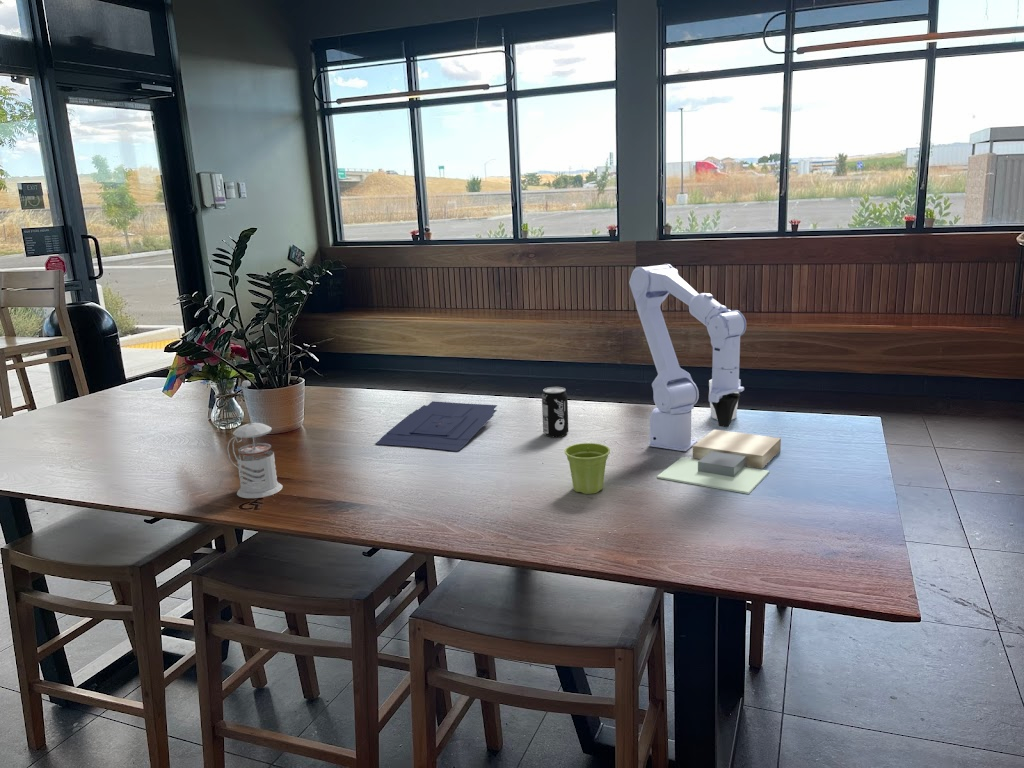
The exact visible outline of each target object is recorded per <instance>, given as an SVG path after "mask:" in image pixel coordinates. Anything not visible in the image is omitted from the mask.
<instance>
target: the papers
mask: <svg viewBox="0 0 1024 768" xmlns="http://www.w3.org/2000/svg"><path fill="white" fill-rule="evenodd" d="M496 407H498V404H482V403H478V404H477V403H463V402H449V401H448V402H446V401H431V402H430V403H429V404H427V405H422V406H421V407H419V408H417V409H415V410H414V411H412V412H411V413H409V414H408V415H407V416H406V417H405V418H403V419H402V420H400V421H399V422H398V423H397V424H396V425H395V426H393V427H392V428H391V429H389V431H387V432H385V434H384V435H383V436H382V437H381V438H380V439H379V440H378V441H376V443H375V445H384V446H385V445H386V446H399V447H401V446H402V447H417V448H426V449H435V450H446V451H452V452H459V451H460V450H461V449H462V448H463V447H465V446H466V445H467V444H468V443H469V441H470V440H471V439H472V438H474V436H475V435H476V434H477V433H478V432H479V431H480V430H481V429H482V428H483V427H484V426H485V424H487V423H488V421H490V420H491V419H492V418H493V417H494V416H495V413H496V412H497V411H498V409H496Z"/></svg>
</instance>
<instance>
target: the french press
mask: <svg viewBox="0 0 1024 768" xmlns="http://www.w3.org/2000/svg"><path fill="white" fill-rule="evenodd" d="M241 387H243V388H244V387H245V388H246V389H245V390H246V395H247V396H246V397H247V404H248V413H249V420H250V422H249V423H246V424H243V425H241V426H239V427H237V428H236V429H234V430H233V432H232V435H233V437H232V438H230V439H229V441H228V442H227V448H226V449H227V455H228V459H229V460H230V463H231V464H232V465H233V466H234V467H236V468H237V469H238V476H239V484H240V487H239V489H238V490H237V492H236V495H237V496H238V497H239V498H244V499H259V498H265V497H270V496H273V495H274V494H275V495H276V494H277V493H278V492H280V491H281V490H282V489H283V484H281V483H280V482H278V476H277V469H276V468H277V467H276V463H275V462H276V459H275V451H273V450H271V449H272V445H271V444H269V443H263V442H262V443H261V442H260V443H259V442H258V443H255V438H258V437H263V436H266V435H267V434H270V433H271V431H272V427H271V426H269V425H267V424H264V423H260V422H252V421H253V420H252V414H251V407H250V398H249V391H248V387H251V381H250V380H248V379H247V380H243V381H242V382H241ZM238 438H240V440H239V441H238ZM243 438H245V439H248V438H252V444H246V445H243V446H240V447H239V448H238V449H237V453H238V454H239V455H236V453H235V445H234V444H235V442H236V443H241V442H242V441H243ZM232 441H233V442H232ZM231 442H232V453H233V456H234V457H235V460H236V461H237V465H236V464H235V462H233V460H232V459H231V455H230V451H229V448H230V447H229V446H230V443H231ZM263 454H264V455H267V456H264V455H263ZM241 455H242V458H241ZM259 455H263V456H259ZM256 456H259V457H257V458H255V457H256ZM242 459H243V460H242ZM243 467H244V468H243ZM244 478H245V479H244Z"/></svg>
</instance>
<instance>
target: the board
mask: <svg viewBox="0 0 1024 768" xmlns="http://www.w3.org/2000/svg"><path fill="white" fill-rule="evenodd" d="M781 445H782V438H781V437H773V436H768V435H759V434H752V433H745V432H744V433H743V432H736V431H728V430H721V429H714V428H713V430H711V431H710V432H709V433H707V434H706V435H705V436H703V437H702V438H701V439H699V440H697V443H696V444H694V445H693V446H692V459H697V460H701V459H702V458H703V457H704V456H705V455H707V454H708V453H709V452H710V451H714V452H721V453H728V454H735V455H741V456H746V466H745V467H749V468H755V469H762V470H764V468H765V467H766V466H767V465H768V464H767V463H768V462H769V461H770V460H771V459H772V458H773V457H774V456H776V455H778V454H779V452H780V451H781V447H782V446H781ZM774 458H775V457H774ZM774 458H773V459H774ZM770 462H771V461H770ZM770 462H769V463H770ZM765 465H766V466H765Z"/></svg>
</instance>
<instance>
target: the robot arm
mask: <svg viewBox="0 0 1024 768" xmlns="http://www.w3.org/2000/svg"><path fill="white" fill-rule="evenodd" d="M628 285H629V288H630V291H631V293H632V297H633V300H634V302H635V305H636V306H635V307H636V310H637V314H638V316H639V317H638V318H639V319H640V323H641V325H642V330H643V332H644V335H645V339H646V341H647V344H648V347H649V351H650V354H651V356H652V360H653V363H654V366H655V369H656V372H657V374H656V375H657V376H655V378H654V380H653V381H652V383H651V387H652V391H653V402H654V404H655V406H656V407H655V408H653V410H652V411H651V413H650V418H649V443H648V446H649V447H654V448H659V449H665V450H666V449H667V450H673V451H678V452H679V451H680V452H686V451H688V450H689V449H691V448H693V445H694V444H696V443H697V442H698V440H697V439H692V410H694V409H695V406H694V405H696V404H697V402H698V400H699V398H700V397H699V396H700V394H699V393H700V392H699V388H698V386H697V384H696V383H695V382H694V381H693V378H692V376H691V373H689V372H688V371H686V370H685V369H683V368H681V366H680V363H679V361H678V360H679V359H678V358H677V354H676V351H675V349H674V346H673V343H672V339H671V337H670V334H669V330H668V328H667V325H666V322H665V318H664V315H663V312H662V310H661V305H662V303H663V302H664V301H665V300H666V299H667V297H668V296H669V295H672V296H673V297H675V298H677V299H678V300H679V301H681V302H683V303H684V304H686V305H687V306H688V311H689V313H690V315H691V316H693V317H694V318H695V319H696V320H698V321H699V322H701V323H702V324H703V325H704V326H705V327H706V329H707V330H706V331H707V333H708V336H709V337H710V344H711V347H712V362H711V363H712V366H711V367H712V369H711V371H712V372H711V379H712V385H711V391H710V393H709V392H708V402H709V403H710V402H712V404H713V406H714V409H715V412H716V416H717V419H716V420H717V424H718V426H719V427H723V428H729V427H730V426H731V422H732V420H733V419H732V416H733V412H734V409H735V406H736V404H737V402H738V403H739V401H740V398H741V394H740V393H741V392H743V391H745V387H744V386H741V385H742V381H741V380H742V379H740V355H741V336H743V335H744V334H745V333H746V329H747V320H746V317H745V316H744V314H743V313H742V312H741V311H740V310H738V309H728V307H727V306H726V305H723V304H721V303H720V302H719V301H717V300H716V299H715V298H713V297H714V295H713V294H711V293H710V292H709V293H707V292H700V293H698V291H696V290H695V289H694V288H693V287H692V286H691V285H690V284H689V283H688V282H687V281H686V280H684V279H683V278H682V276H680V274H679V271H678V269H677V268H675V267H673V265H671V264H670V263H664V264H660V265H659V264H658V265H649V266H636V267H634V269H633V270H632V272H631V275H630V279H629V282H628ZM734 392H739V394H738V393H734Z"/></svg>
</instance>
